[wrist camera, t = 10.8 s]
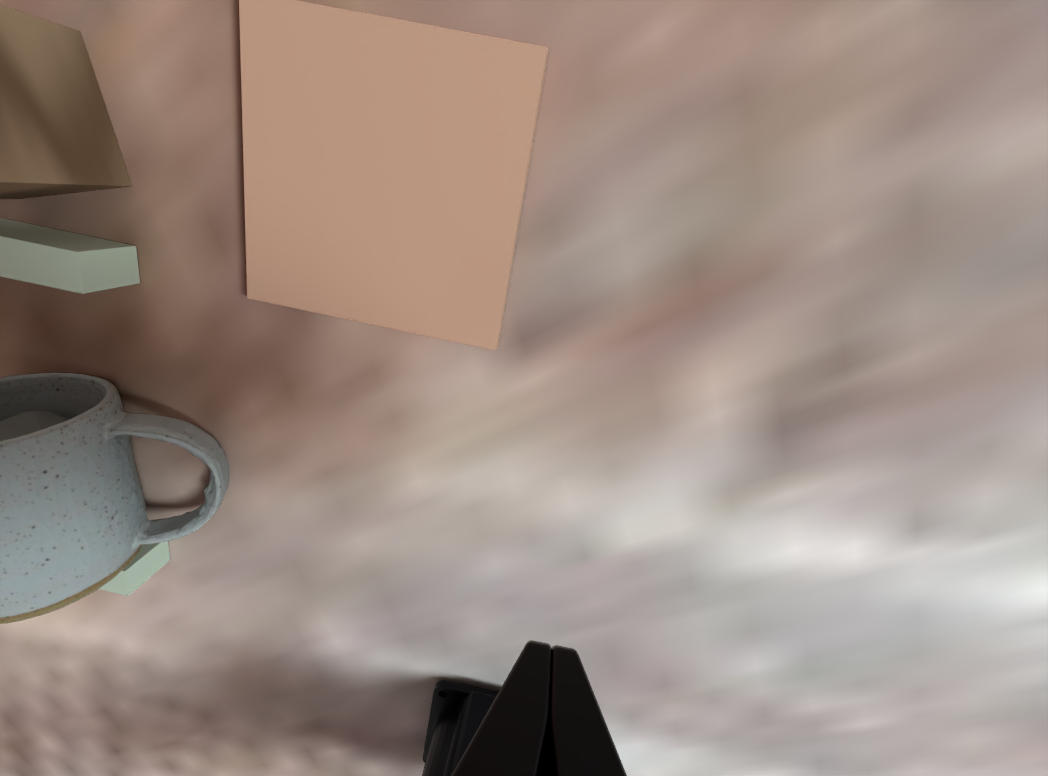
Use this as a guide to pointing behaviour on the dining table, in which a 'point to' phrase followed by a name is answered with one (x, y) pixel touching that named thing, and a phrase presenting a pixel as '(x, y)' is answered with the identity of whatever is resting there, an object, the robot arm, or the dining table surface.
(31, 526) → the ceramic mug
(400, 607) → the dining table surface
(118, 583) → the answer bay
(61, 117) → the walnut block
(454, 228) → the terracotta tile
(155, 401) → the dining table surface
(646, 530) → the dining table surface
